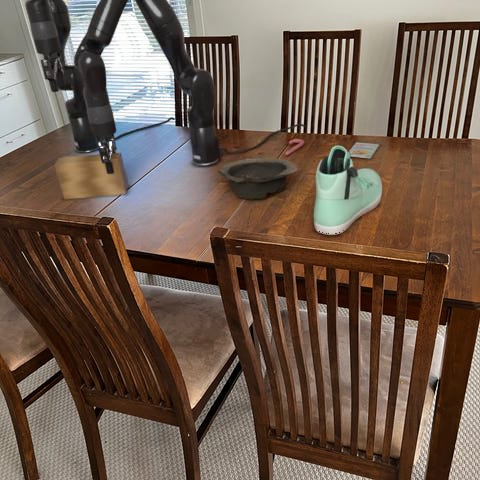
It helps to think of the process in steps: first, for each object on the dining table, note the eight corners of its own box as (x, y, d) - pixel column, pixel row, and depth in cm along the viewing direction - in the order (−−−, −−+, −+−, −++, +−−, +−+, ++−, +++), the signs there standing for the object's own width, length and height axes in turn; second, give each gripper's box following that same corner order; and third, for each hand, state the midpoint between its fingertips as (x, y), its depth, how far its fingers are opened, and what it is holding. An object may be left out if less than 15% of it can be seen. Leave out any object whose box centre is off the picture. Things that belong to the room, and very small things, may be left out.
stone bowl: (243, 213, 140) (240, 183, 136) (209, 189, 160) (205, 162, 156) (313, 190, 149) (312, 161, 144) (272, 170, 169) (270, 144, 165)
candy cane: (273, 154, 179) (273, 150, 178) (293, 141, 189) (293, 137, 188) (287, 156, 176) (287, 152, 175) (307, 143, 186) (307, 139, 185)
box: (64, 199, 158) (54, 164, 151) (69, 191, 163) (59, 157, 157) (125, 194, 158) (118, 159, 152) (128, 186, 163) (121, 152, 157)
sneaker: (389, 187, 148) (396, 123, 138) (356, 242, 123) (361, 168, 112) (346, 181, 154) (350, 119, 144) (306, 232, 129) (307, 161, 118)
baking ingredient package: (345, 155, 171) (356, 141, 183) (345, 156, 172) (356, 142, 183) (370, 157, 168) (379, 143, 179) (370, 158, 168) (379, 145, 180)
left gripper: (50, 38, 145) (64, 93, 154) (63, 32, 157) (75, 82, 166) (26, 41, 145) (41, 95, 153) (40, 33, 157) (53, 84, 166)
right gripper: (109, 125, 142) (120, 177, 150) (117, 111, 154) (127, 160, 163) (84, 127, 142) (96, 179, 150) (94, 113, 154) (105, 161, 163)
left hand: (59, 88), depth 160 cm, fingers open, 8 cm apart
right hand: (112, 169), depth 156 cm, fingers closed on box, 6 cm apart
